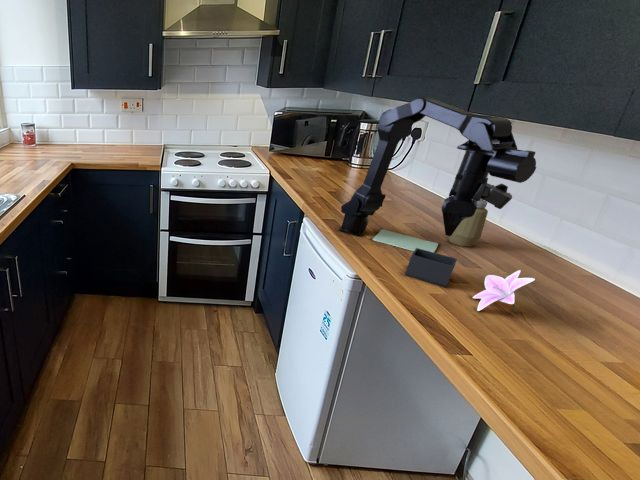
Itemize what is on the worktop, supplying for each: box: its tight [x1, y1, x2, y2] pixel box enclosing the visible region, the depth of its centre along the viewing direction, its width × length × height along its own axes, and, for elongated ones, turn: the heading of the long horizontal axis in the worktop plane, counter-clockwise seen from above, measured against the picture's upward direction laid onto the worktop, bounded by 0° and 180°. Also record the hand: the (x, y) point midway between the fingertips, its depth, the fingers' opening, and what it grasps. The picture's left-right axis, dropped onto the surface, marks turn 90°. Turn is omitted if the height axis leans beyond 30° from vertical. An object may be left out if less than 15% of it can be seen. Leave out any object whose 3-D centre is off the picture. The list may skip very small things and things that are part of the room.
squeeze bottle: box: [448, 198, 489, 248], centre depth 124 cm, size 8×8×18 cm
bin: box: [404, 248, 458, 288], centre depth 105 cm, size 9×6×6 cm
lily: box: [472, 269, 536, 313], centre depth 92 cm, size 12×12×10 cm
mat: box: [372, 228, 439, 253], centre depth 127 cm, size 16×12×1 cm
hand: (450, 230), depth 103 cm, fingers open, 9 cm apart
